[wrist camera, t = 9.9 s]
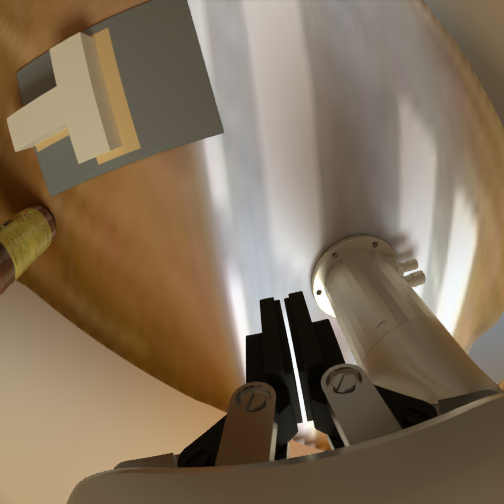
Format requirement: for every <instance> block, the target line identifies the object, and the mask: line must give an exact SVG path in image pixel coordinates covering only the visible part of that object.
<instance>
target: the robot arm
mask: <svg viewBox="0 0 504 504" xmlns="http://www.w3.org/2000/svg"><path fill="white" fill-rule="evenodd" d="M334 252H335V253H334ZM333 253H334V254H333ZM417 268H418V262H417V260H416V259H412V260H409V261H406V262H404V263H401V262H398V259H397V257H396V254H395V252H394V251H393V249H392V248H391V247H390V246H389V245H388V244H387V243H386V242H385V241H383V240H382V239H380V238H377V237H375V236H371V235H355V236H351V237H348V238H345V239H343V240H341V241H339V242H337V243H336V244H334V245H333V246H332V247H330V248H329V249H328V250H327V251H326V252H325V253H324V254H323V256H322V257H321V258H320V260H319V261H318V263H317V265H316V267H315V269H314V272H313V275H312V282H311V287H312V293H313V296H314V299H315V301H316V303H317V305H318V306H319V307H320V308H321V310H322V311H324V312H325V313H326V314H328V315H330V316H333V317H336V319H337V321H338V323H339V325H340V327H341V330H342V332H343V334H344V336H345V338H346V341H347V343H348V345H349V347H350V349H351V352H352V354H353V356H354V358H355V361H356V363H357V365H358V366H357V365H353V364H346V363H345V361H344V358H343V355H342V353H341V350H340V347H339V345H338V342H337V339H336V337H335V334H334V331H333V329H332V326H331V324H330V321H329V319H325V320H321V321H316V322H312V321H311V318H310V315H309V311H308V308H307V305H306V302H305V299H304V295H303V292H302V291H300V292H295V293H290V294H289V298H285V299H284V302H285V307H286V312H287V317H288V322H289V327H290V332H291V337H292V342H293V347H294V352H295V357H296V363H297V368H298V373H299V378H300V384H301V389H302V394H303V399H304V405H305V410H306V416H307V421H312V420H313V421H314V426H315V428H316V429H317V430H319V431H321V432H323V433H325V434H326V436H327V440H328V442H329V444H330V446H331V449H332V450H330V451H325V452H321V453H316V454H311V455H306V456H300V457H295V458H289V455H290V440H291V439H292V438H293V437H294V436H295V435H296V433H297V432H298V427H297V423H302V422H303V421H302V415H301V409H300V403H299V398H298V392H297V386H296V380H295V375H294V369H293V363H292V358H291V353H290V348H289V343H288V338H287V333H286V328H285V323H284V319H283V314H282V309H281V304H280V300H275V301H274V298H273V297H271V298H267V299H262V300H260V312H261V325H262V333H259V334H253V335H248V336H246V384H244V385H242V386H241V387H239V388H238V389H237V390H236V391H235V392H234V393H233V394H232V397H231V399H230V403H229V408H228V412H227V414H226V416H224V417H223V418H222V419H221V420H220V421H218V422H217V423H216V424H215V425H214V426H212V427H211V428H210V429H209V430H207V431H206V432H205V433H204V434H203V435H201V436H200V437H199V438H198V439H196V440H195V441H194V442H193V443H192V444H190V445H189V446H188V447H186V448H185V449H184V450H183V451H182V452H181V454H178V455H174V453H169V454H164V455H159V456H153V457H149V458H142V459H136V460H129V461H124V462H121V463H119V464H118V465H117V466H116V467H115V468H114V469H113V470H108V471H104V472H100V473H96V474H94V475H91V476H89V477H86V478H85V479H83V480H82V481H80V482H79V483H78V484H77V485H76V487H75V488H74V490H73V491H72V493H71V495H70V497H69V499H68V502H67V504H504V391H503V390H502V389H501V388H500V387H499V386H498V385H497V384H496V383H495V382H494V381H493V380H492V379H491V378H490V377H489V376H487V375H486V374H485V373H484V372H483V371H482V370H481V369H480V368H479V367H478V366H477V365H476V364H475V363H474V361H473V360H471V358H469V356H468V355H467V354H466V353H465V351H464V350H463V349H462V348H461V347H460V345H459V344H458V343H457V342H456V341H455V339H454V338H453V337H452V336H451V335H450V333H449V332H448V331H447V330H446V328H445V327H444V326H443V325H442V323H441V322H440V321H439V320H438V319H437V317H436V316H435V315H434V314H433V312H432V311H431V310H430V309H429V308H428V306H427V305H426V304H425V303H424V302H423V300H422V299H421V298H420V297H419V296H418V295H417V293H416V292H415V291H414V290H413V289H412V288H411V287H415V286H418V285H421V284H424V283H425V280H426V279H425V275H424V273H423V271H421V270H420V271H417V272H414V273H411V274H409V275H407V276H403V274H404V272H407V271H411V270H414V269H417Z"/></svg>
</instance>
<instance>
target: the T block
mask: <svg viewBox="0 0 504 504" xmlns="http://www.w3.org/2000/svg"><path fill="white" fill-rule="evenodd" d="M49 50H50V55H51V61H52V66H53V71H54V76H55V80H56V85H57V86H56V87H55V88H53V89H51V90H49V91H48V92H46V93H44V94H43V95H41V96H40V97H38V98H36V99H35V100H33V101H32V102H30V103H29V104H27V105H26V106H24V107H23V108H21V109H20V110H18V111H17V112H15V113H14V114H12V115H11V116H10V117H8V118H7V122H8V127H9V131H10V134H11V138H12V142H13V146H14V149H15V152H17V151H21V150H24V149H27V148H31V147H34V146H35V145H37V144H39V143H41V142H42V141H44V140H46V139H48V138H50V137H51V136H53V135H55V134H57V133H59V132H61V131H63V130H64V129H66V128H68V131H69V135H70V138H71V142H72V145H73V148H74V151H75V154H76V158H77V161H78V164H80V163H83V162H85V161H87V160H90V159H92V158H95V157H97V156H99V155H102V154H104V153H107V152H109V151H111V150H114V149H116V148H119V147H122V146H123V144H122V141H121V137H120V134H119V131H118V127H117V124H116V121H115V117H114V114H113V110H112V106H111V103H110V99H109V95H108V92H107V88H106V84H105V80H104V76H103V72H102V68H101V64H100V59H99V55H98V51H97V46H96V41H95V38H93V37H90V36H88V35H86V34H84V33H81V32H79V33H77V34H75V35H73V36H71V37H70V38H68V39H66V40H64V41H63V42H61V43H59V44H57V45H56V46H54V47H52V48H51V49H49Z"/></svg>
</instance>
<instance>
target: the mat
mask: <svg viewBox="0 0 504 504" xmlns="http://www.w3.org/2000/svg"><path fill="white" fill-rule="evenodd" d="M81 33H84V34H86V35H88V36H90V37H93V38H95V41H96V46H97V51H98V55H99V59H100V64H101V68H102V72H103V76H104V80H105V84H106V88H107V92H108V95H109V99H110V103H111V106H112V110H113V114H114V117H115V121H116V124H117V127H118V131H119V134H120V137H121V141H122V144H123V146H122V147H119V148H116V149H114V150H111V151H109V152H107V153H104V154H102V155H99V156H97V157H95V158H92V159H90V160H87V161H85V162H83V163H80V164H78V161H77V158H76V154H75V151H74V148H73V145H72V142H71V138H70V135H69V131H68V128H66V129H64V130H63V131H61V132H59V133H57V134H55V135H53V136H51V137H50V138H48V139H46V140H44V141H42V142H41V143H39V144H37V145H35V146H34V148H35V152H36V155H37V158H38V161H39V164H40V167H41V170H42V173H43V176H44V179H45V182H46V185H47V188H48V190H49V193H50V196H51V197H52V196H54V195H56V194H58V193H60V192H62V191H64V190H67V189H69V188H71V187H73V186H75V185H78V184H80V183H82V182H85V181H87V180H89V179H92V178H94V177H96V176H99V175H101V174H104V173H106V172H109V171H111V170H114V169H116V168H119V167H121V166H124V165H127V164H129V163H132V162H135V161H137V160H140V159H143V158H146V157H148V156H151V155H154V154H157V153H160V152H163V151H166V150H169V149H172V148H175V147H178V146H181V145H184V144H188V143H191V142H194V141H197V140H201V139H204V138H208V137H211V136H215V135H218V134H222V133H224V131H223V128H222V124H221V121H220V117H219V113H218V110H217V106H216V103H215V99H214V96H213V92H212V88H211V85H210V81H209V78H208V74H207V71H206V67H205V63H204V60H203V56H202V53H201V49H200V46H199V42H198V39H197V35H196V32H195V28H194V25H193V21H192V17H191V14H190V10H189V7H188V3H187V0H153V1H150V2H147V3H145V4H142V5H140V6H137V7H134V8H132V9H129V10H127V11H125V12H122V13H120V14H118V15H115V16H113V17H111V18H109V19H107V20H104V21H102V22H100V23H98V24H96V25H94V26H92V27H90V28H88V29H86V30H84V31H82V32H81ZM17 79H18V84H19V89H20V94H21V99H22V103H23V107H24V106H26V105H27V104H29V103H30V102H32V101H33V100H35V99H36V98H38V97H40V96H41V95H43V94H44V93H46V92H48V91H49V90H51V89H53V88H55V87H56V86H57V85H56V80H55V76H54V71H53V66H52V61H51V55H50V50H49V51H48V52H46V53H44V54H43V55H41V56H40V57H38V58H37V59H35V60H34V61H32V62H31V63H29V64H28V65H26V66H25V67H24V68H22V69H21V70H19V71H18V72H17Z"/></svg>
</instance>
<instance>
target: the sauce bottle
mask: <svg viewBox="0 0 504 504" xmlns="http://www.w3.org/2000/svg"><path fill="white" fill-rule="evenodd" d="M55 235H56V225H55V222H54V218H53V217H52V215H51V214H50V212H49V211H48V210H47V209H45V208H44V207H42V206H38V205H34V206H31V207H29V208H26V209H24V210H22V211H21V212H19V213H18V214H16V215H15V216H13V217H12V218H11V219H9V220H8V221H6V222H5V223H3V224H2V225H0V295H1V294H2V293H3V292H4V291H5V290H6V289H7V288H8V287H9V286H10V285H11V284H13V282H15V281H16V279H17V278H18V277H19V276H20V275H21V274H22V273H23V272H24V271H25V270H26V269H27V268H28V267H29V266H30V265H31V264H32V263H33V262H34V261H35V260H36V259H37V258H38V257H39V256H40V255H41V254H42V253H43V252H44V251H45V250H46V249H47V248H48V247H49V245H50V244H51V243H52V242H53V240H54V238H55Z"/></svg>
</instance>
